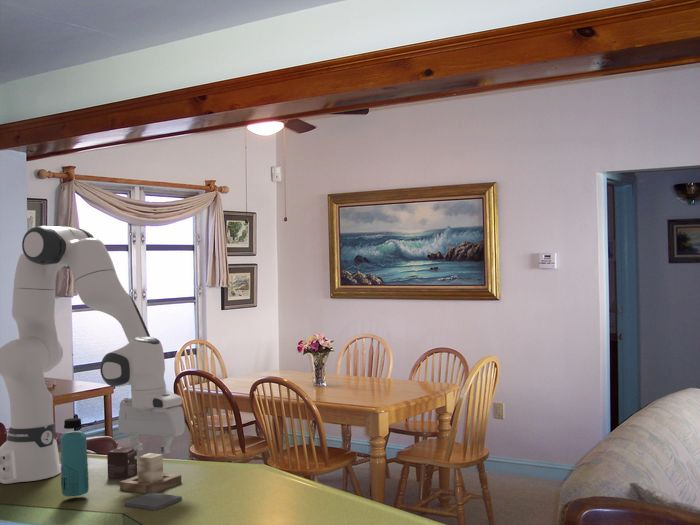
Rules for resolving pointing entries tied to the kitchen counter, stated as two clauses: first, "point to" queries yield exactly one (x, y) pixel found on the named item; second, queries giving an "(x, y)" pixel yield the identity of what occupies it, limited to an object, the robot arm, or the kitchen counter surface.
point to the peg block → (150, 468)
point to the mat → (153, 501)
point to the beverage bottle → (74, 460)
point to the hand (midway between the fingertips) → (152, 451)
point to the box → (122, 463)
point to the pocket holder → (150, 484)
